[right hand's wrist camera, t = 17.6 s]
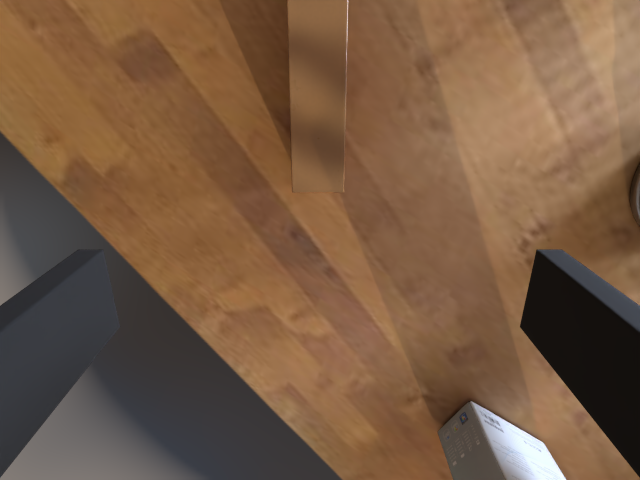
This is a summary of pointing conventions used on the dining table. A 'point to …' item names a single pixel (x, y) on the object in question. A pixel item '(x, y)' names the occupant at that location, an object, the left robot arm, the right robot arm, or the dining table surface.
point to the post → (317, 93)
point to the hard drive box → (493, 449)
